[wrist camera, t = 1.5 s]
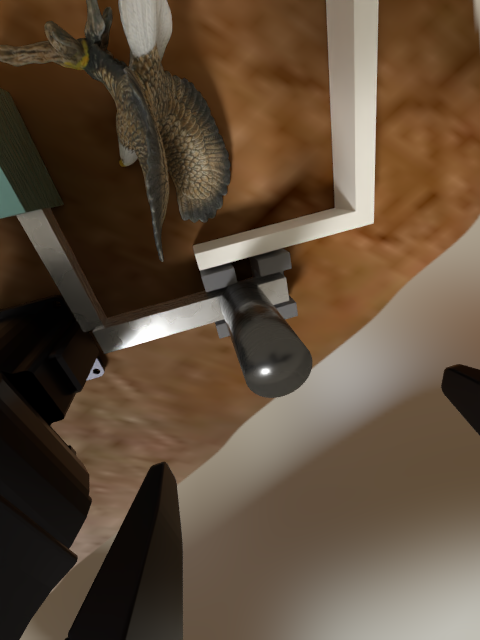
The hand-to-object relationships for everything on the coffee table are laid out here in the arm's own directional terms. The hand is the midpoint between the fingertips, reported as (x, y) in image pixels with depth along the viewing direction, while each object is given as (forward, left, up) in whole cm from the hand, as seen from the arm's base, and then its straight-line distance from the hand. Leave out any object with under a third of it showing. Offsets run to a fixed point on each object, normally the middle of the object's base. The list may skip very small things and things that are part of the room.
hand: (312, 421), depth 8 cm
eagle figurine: (-2, +9, -13) cm, 16 cm away
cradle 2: (+2, 0, -13) cm, 13 cm away
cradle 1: (-1, 0, -13) cm, 13 cm away
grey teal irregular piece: (-3, +5, -13) cm, 14 cm away
